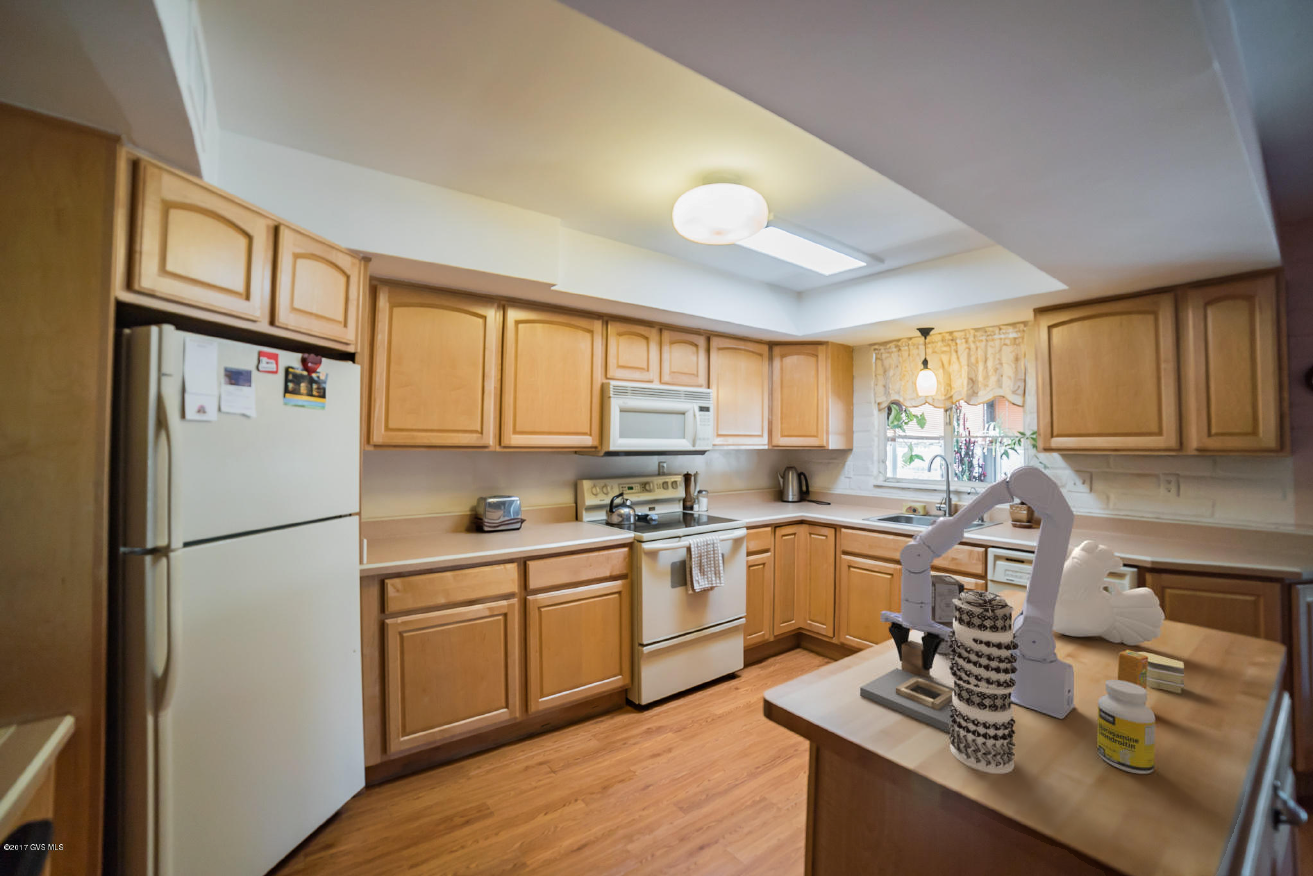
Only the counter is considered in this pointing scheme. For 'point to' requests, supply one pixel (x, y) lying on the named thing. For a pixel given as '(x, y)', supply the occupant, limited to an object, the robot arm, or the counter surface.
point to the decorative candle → (982, 682)
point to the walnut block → (913, 659)
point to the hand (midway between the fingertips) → (915, 664)
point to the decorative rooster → (1103, 600)
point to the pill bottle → (1126, 728)
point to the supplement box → (1133, 668)
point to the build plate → (912, 697)
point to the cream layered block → (1164, 673)
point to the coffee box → (944, 603)
